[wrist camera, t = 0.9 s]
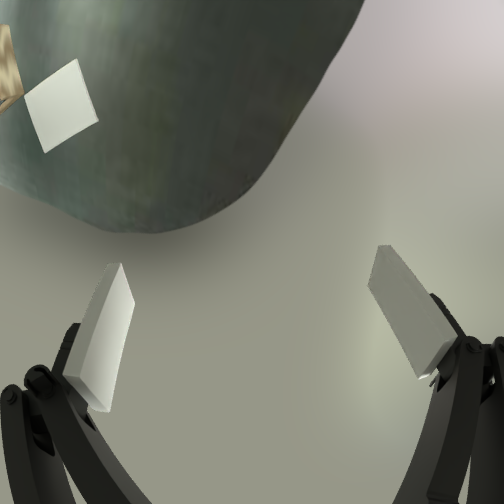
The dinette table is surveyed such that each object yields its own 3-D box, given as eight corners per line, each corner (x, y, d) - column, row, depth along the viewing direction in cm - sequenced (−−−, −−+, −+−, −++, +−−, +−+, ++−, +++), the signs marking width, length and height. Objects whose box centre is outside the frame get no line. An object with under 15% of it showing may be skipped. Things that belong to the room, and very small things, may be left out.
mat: (25, 95, 26) (23, 96, 25) (77, 58, 25) (75, 58, 25) (46, 152, 31) (44, 153, 31) (98, 120, 30) (97, 121, 30)
